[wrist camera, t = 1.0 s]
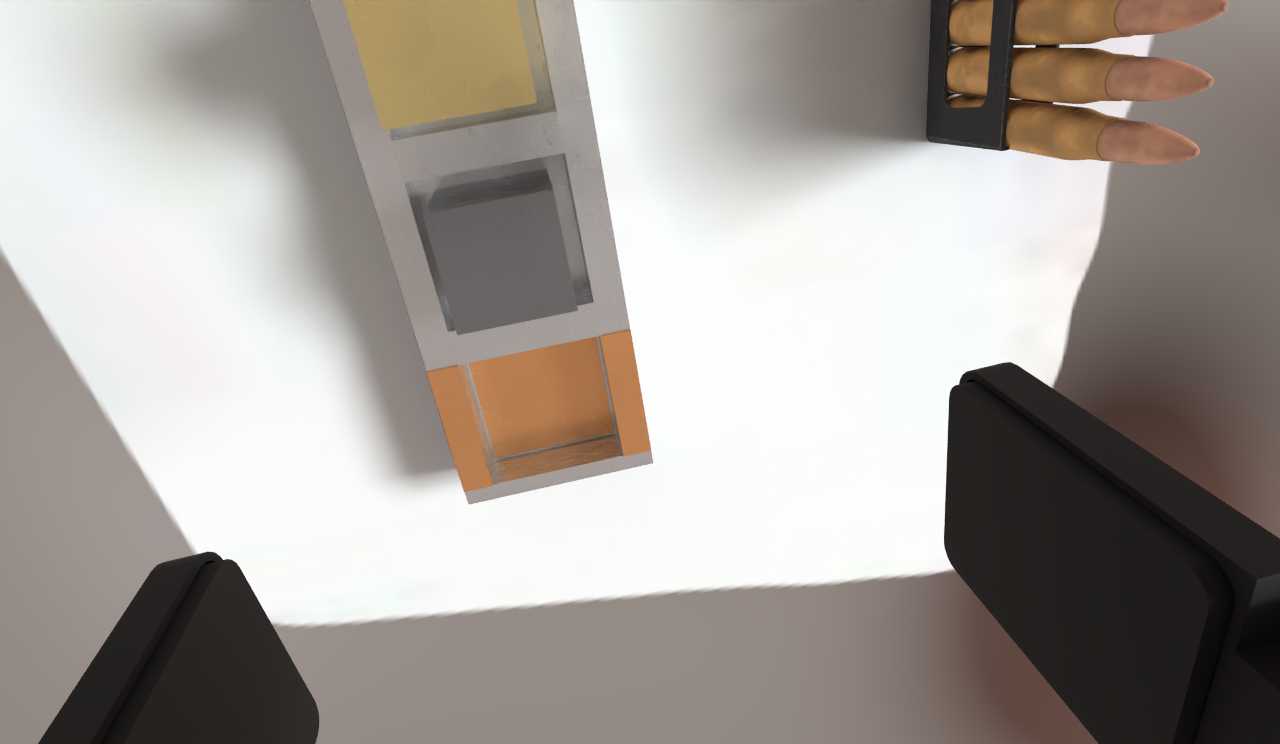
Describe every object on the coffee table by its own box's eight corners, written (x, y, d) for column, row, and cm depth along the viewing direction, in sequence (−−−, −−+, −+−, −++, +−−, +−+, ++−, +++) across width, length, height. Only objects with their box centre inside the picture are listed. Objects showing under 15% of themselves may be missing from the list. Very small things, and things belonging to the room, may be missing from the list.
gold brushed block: (376, -24, 23) (328, -50, 17) (502, -43, 24) (500, -76, 18) (413, 110, 25) (382, 130, 19) (530, 89, 26) (537, 103, 19)
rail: (311, -59, 24) (284, -74, 21) (548, -96, 24) (553, -114, 21) (471, 467, 33) (468, 506, 30) (641, 429, 33) (653, 464, 31)
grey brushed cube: (435, 189, 26) (422, 214, 22) (546, 168, 27) (553, 189, 23) (464, 294, 28) (457, 335, 24) (568, 273, 29) (577, 310, 25)
